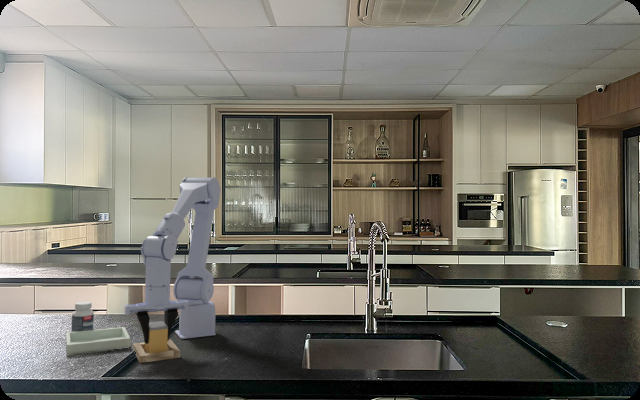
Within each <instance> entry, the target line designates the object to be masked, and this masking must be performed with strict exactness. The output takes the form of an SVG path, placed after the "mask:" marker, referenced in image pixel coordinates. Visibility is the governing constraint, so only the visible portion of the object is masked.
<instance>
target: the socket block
mask: <svg viewBox="0 0 640 400" xmlns="http://www.w3.org/2000/svg"><path fill="white" fill-rule="evenodd" d="M145 346H146V344H145V342H144V341H143V342H136V343H133V345H132V349H133V348H134V350H135V352H136V354H135V356H136V359H137V361H138V363H139V364H143V363H149V362H150V363H151V362H158V361H164V360H173V359H180V358H181V350H180V349H179V348H178V346H177V345H176V344H175V342H174V341H173V340H172V339H171V338H169V341H167V351H163V352H155V353H146V352H145ZM134 350H133V351H134ZM135 352H134V353H135Z"/></svg>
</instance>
